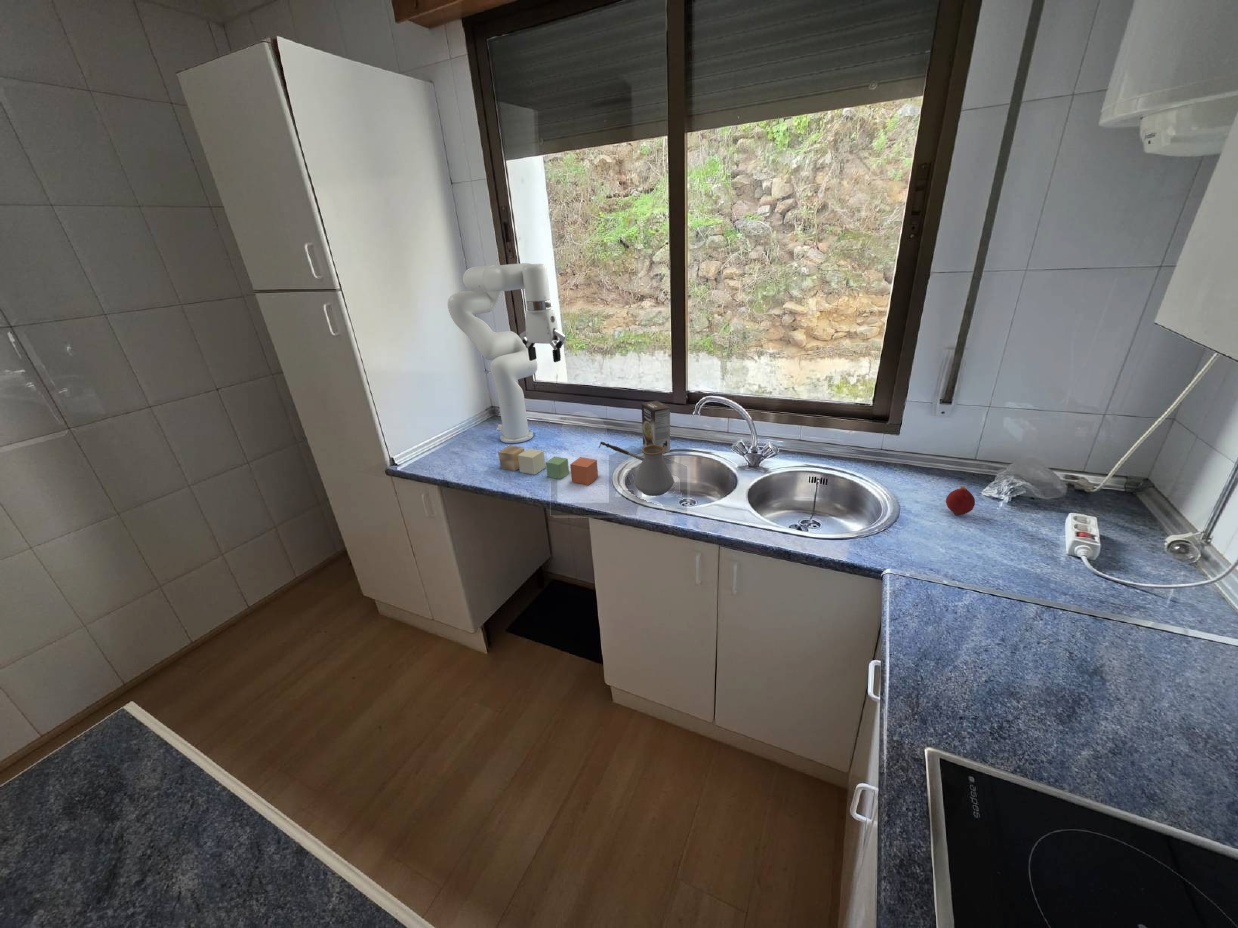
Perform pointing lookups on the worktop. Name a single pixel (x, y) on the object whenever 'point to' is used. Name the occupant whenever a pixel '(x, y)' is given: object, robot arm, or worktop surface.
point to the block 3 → (584, 470)
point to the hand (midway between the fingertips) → (544, 360)
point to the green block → (557, 467)
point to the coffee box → (656, 424)
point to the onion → (960, 501)
